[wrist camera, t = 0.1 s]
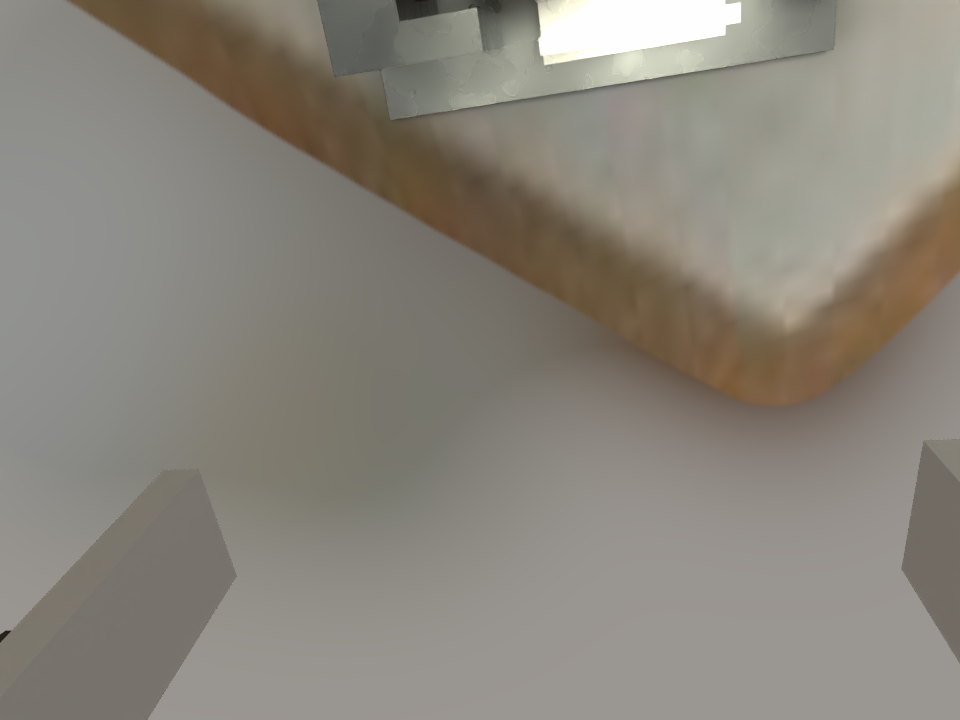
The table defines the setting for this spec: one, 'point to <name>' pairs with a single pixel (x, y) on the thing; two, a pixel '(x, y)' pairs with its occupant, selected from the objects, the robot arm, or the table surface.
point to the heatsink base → (555, 43)
